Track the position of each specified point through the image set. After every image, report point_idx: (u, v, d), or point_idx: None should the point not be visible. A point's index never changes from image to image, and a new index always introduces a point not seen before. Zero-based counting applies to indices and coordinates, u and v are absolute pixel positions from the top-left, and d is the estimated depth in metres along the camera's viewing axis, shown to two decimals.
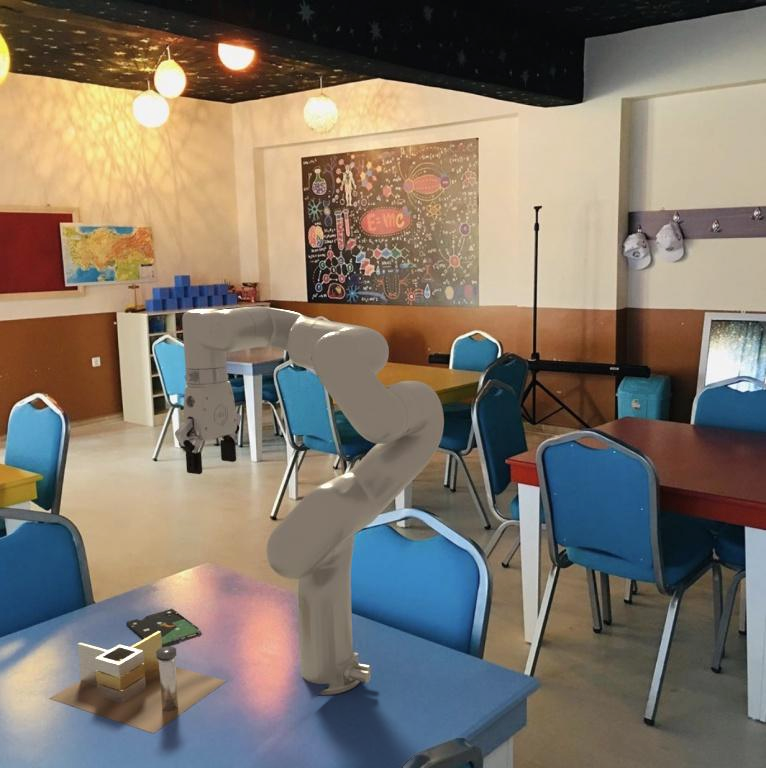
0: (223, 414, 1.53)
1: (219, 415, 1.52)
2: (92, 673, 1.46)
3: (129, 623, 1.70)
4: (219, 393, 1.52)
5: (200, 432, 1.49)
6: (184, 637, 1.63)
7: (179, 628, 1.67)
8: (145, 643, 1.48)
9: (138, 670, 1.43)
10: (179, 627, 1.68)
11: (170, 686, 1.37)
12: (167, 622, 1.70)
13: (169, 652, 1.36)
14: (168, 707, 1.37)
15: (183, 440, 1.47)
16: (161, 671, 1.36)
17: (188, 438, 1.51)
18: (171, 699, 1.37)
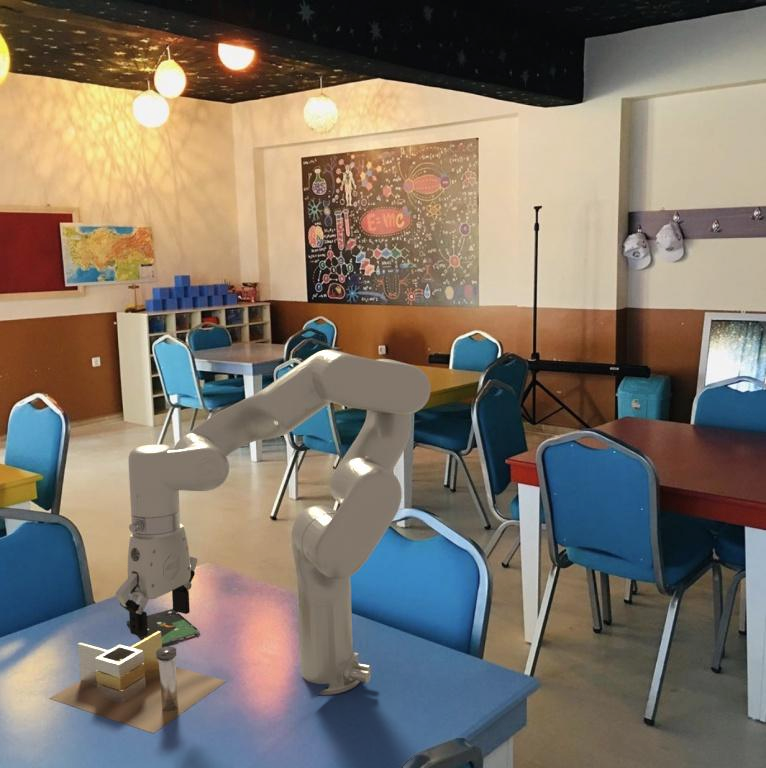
0: (174, 565, 1.34)
1: (169, 567, 1.33)
2: (92, 673, 1.46)
3: (129, 622, 1.70)
4: (169, 543, 1.33)
5: (145, 590, 1.30)
6: (182, 638, 1.63)
7: (178, 629, 1.67)
8: (145, 643, 1.48)
9: (138, 670, 1.43)
10: (179, 627, 1.67)
11: (170, 686, 1.37)
12: (167, 622, 1.70)
13: (169, 652, 1.36)
14: (168, 707, 1.37)
15: (125, 601, 1.28)
16: (161, 671, 1.36)
17: (132, 595, 1.31)
18: (171, 699, 1.37)
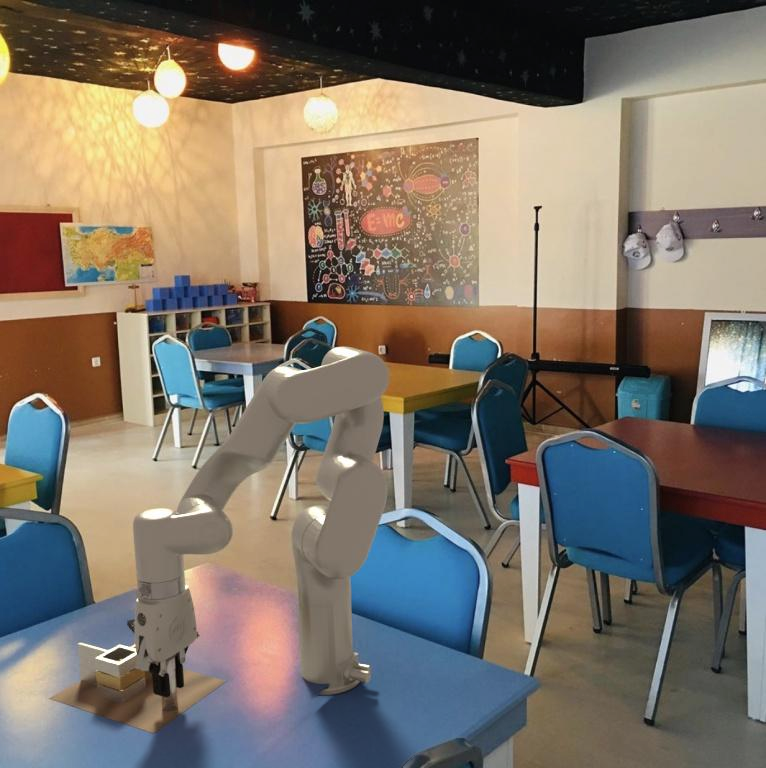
0: (180, 627, 1.36)
1: (175, 630, 1.35)
2: (92, 673, 1.46)
3: (129, 622, 1.70)
4: (175, 606, 1.34)
5: (153, 654, 1.31)
6: None
7: None
8: None
9: (138, 670, 1.43)
10: None
11: (170, 686, 1.37)
12: None
13: None
14: (168, 707, 1.37)
15: (148, 665, 1.33)
16: None
17: (149, 660, 1.35)
18: (171, 699, 1.37)
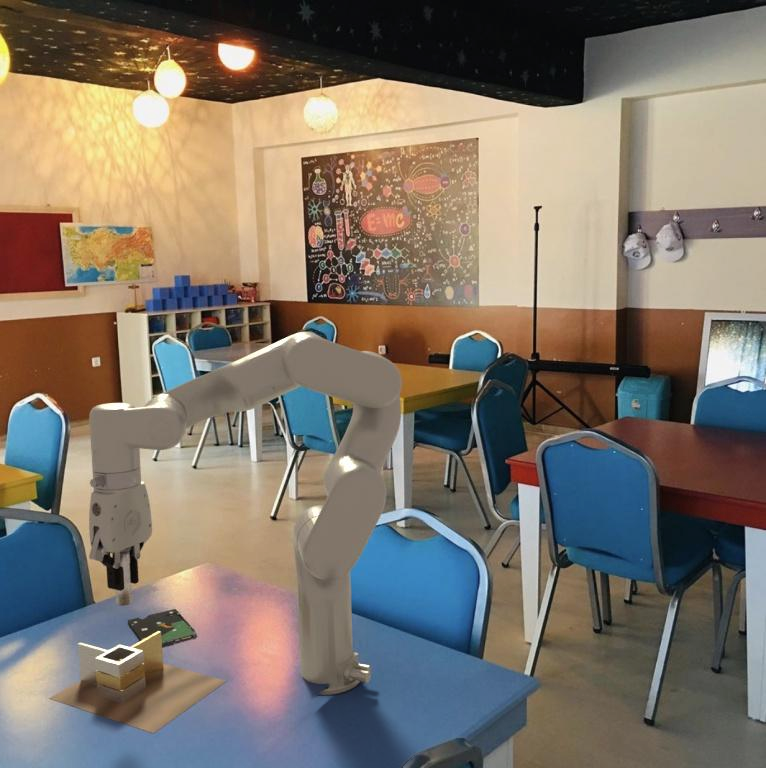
0: (135, 521, 1.37)
1: (130, 523, 1.36)
2: (92, 673, 1.46)
3: (130, 621, 1.70)
4: (130, 499, 1.36)
5: (107, 544, 1.32)
6: (178, 639, 1.62)
7: (176, 630, 1.66)
8: (145, 643, 1.48)
9: (138, 670, 1.43)
10: (177, 628, 1.67)
11: (124, 580, 1.38)
12: (166, 623, 1.69)
13: None
14: (122, 601, 1.38)
15: (102, 556, 1.34)
16: None
17: (104, 552, 1.36)
18: (125, 594, 1.38)
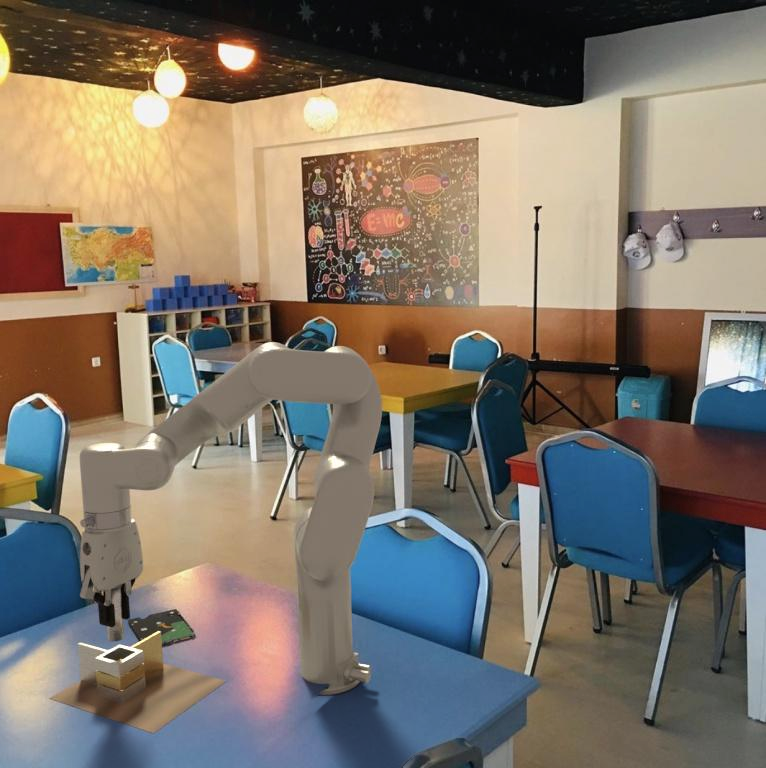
0: (125, 559, 1.39)
1: (120, 561, 1.38)
2: (92, 673, 1.46)
3: (130, 621, 1.71)
4: (121, 537, 1.38)
5: (97, 583, 1.35)
6: (177, 639, 1.62)
7: (175, 630, 1.66)
8: (145, 643, 1.48)
9: (138, 670, 1.43)
10: (176, 628, 1.67)
11: (115, 616, 1.40)
12: (166, 623, 1.69)
13: None
14: (114, 637, 1.41)
15: (93, 594, 1.36)
16: None
17: (95, 590, 1.39)
18: (117, 629, 1.41)
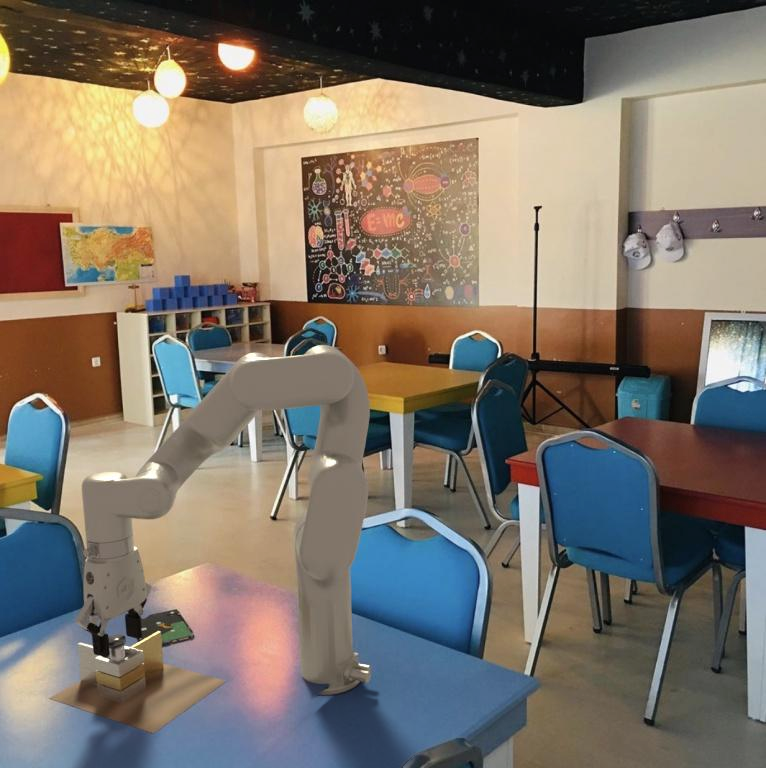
0: (128, 587, 1.40)
1: (123, 589, 1.39)
2: (92, 673, 1.46)
3: None
4: (123, 566, 1.39)
5: (100, 612, 1.36)
6: (175, 640, 1.62)
7: (175, 630, 1.66)
8: (145, 643, 1.48)
9: (138, 670, 1.43)
10: (175, 628, 1.67)
11: None
12: (166, 623, 1.69)
13: (118, 640, 1.41)
14: None
15: (86, 624, 1.35)
16: (111, 658, 1.41)
17: (92, 618, 1.38)
18: None
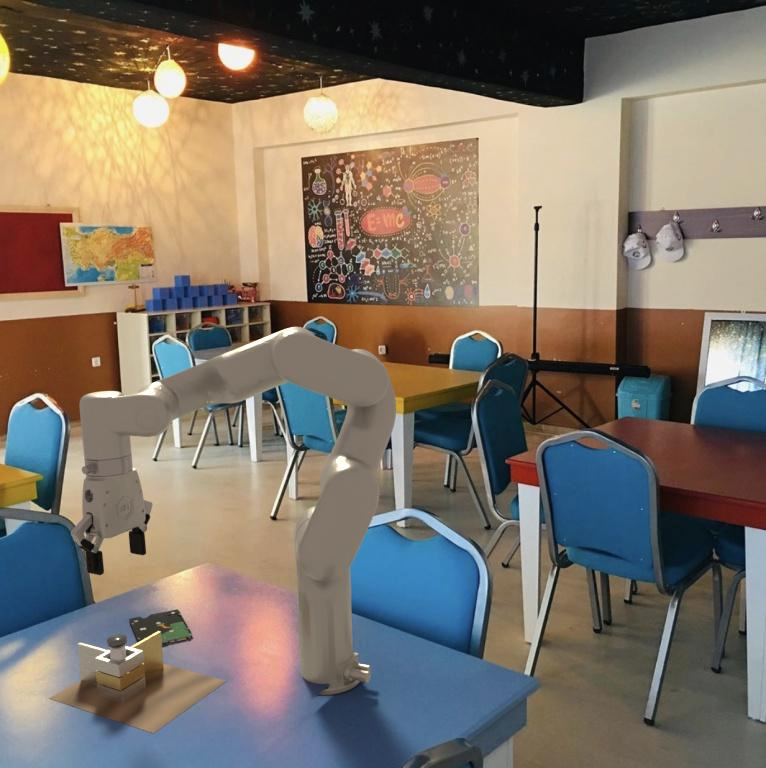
0: (128, 506, 1.39)
1: (123, 508, 1.38)
2: (92, 673, 1.46)
3: (131, 620, 1.71)
4: (122, 485, 1.38)
5: (100, 530, 1.35)
6: (173, 640, 1.62)
7: (173, 631, 1.66)
8: (145, 643, 1.48)
9: (138, 670, 1.43)
10: (174, 629, 1.67)
11: None
12: (165, 623, 1.69)
13: (120, 640, 1.41)
14: None
15: (80, 540, 1.33)
16: (112, 658, 1.41)
17: (88, 535, 1.37)
18: None
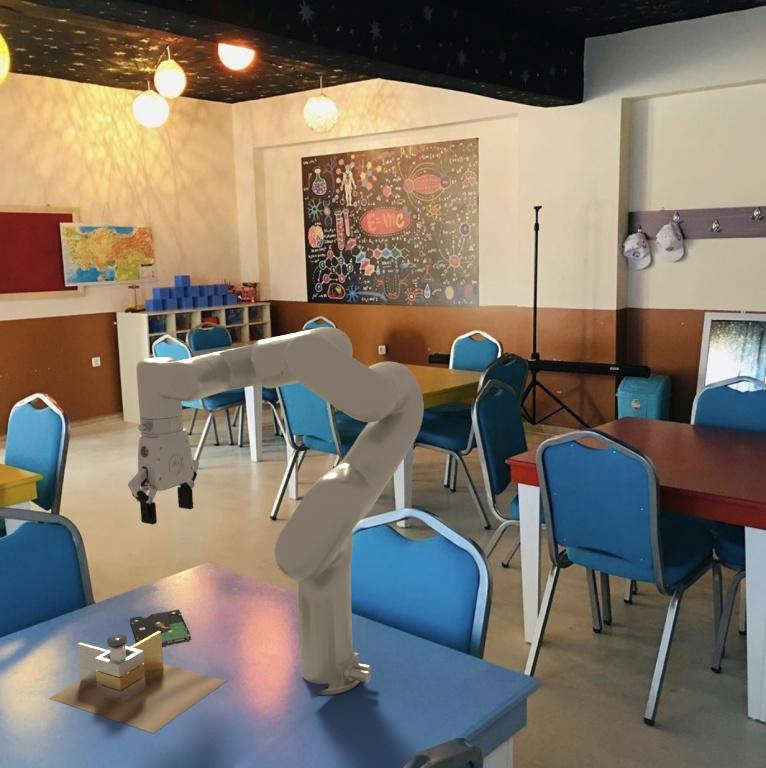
0: (178, 463, 1.52)
1: (174, 464, 1.51)
2: (92, 673, 1.46)
3: (131, 620, 1.71)
4: (174, 443, 1.51)
5: (154, 482, 1.48)
6: (171, 641, 1.62)
7: (172, 631, 1.66)
8: (145, 643, 1.48)
9: (138, 670, 1.43)
10: (173, 629, 1.66)
11: None
12: (165, 623, 1.69)
13: (120, 640, 1.41)
14: None
15: (136, 491, 1.46)
16: (112, 658, 1.41)
17: (142, 488, 1.50)
18: None
